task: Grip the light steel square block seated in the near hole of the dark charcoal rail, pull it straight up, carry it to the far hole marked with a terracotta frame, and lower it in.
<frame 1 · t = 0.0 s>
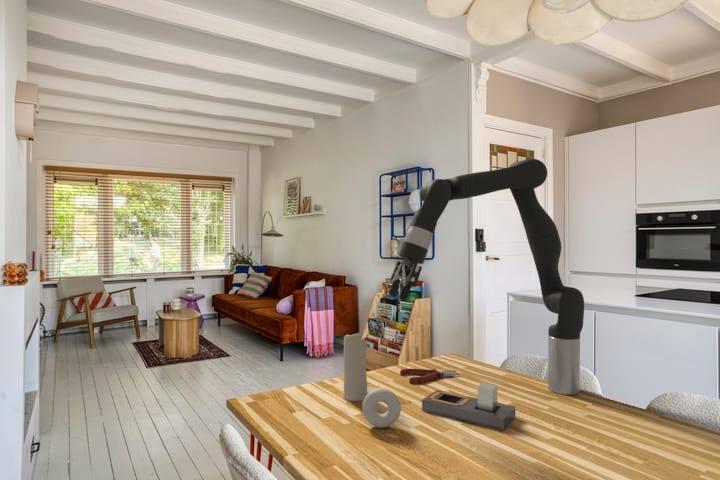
hand: (396, 297, 128), 31 cm above the table, tool tilted 20°, fingers open, 8 cm apart
steel block: (487, 418, 121), resting in rail
pliers: (430, 380, 154), on the table
tall grey curved block: (361, 394, 139), on the table
donut: (381, 428, 115), on the table
rail: (467, 413, 124), on the table
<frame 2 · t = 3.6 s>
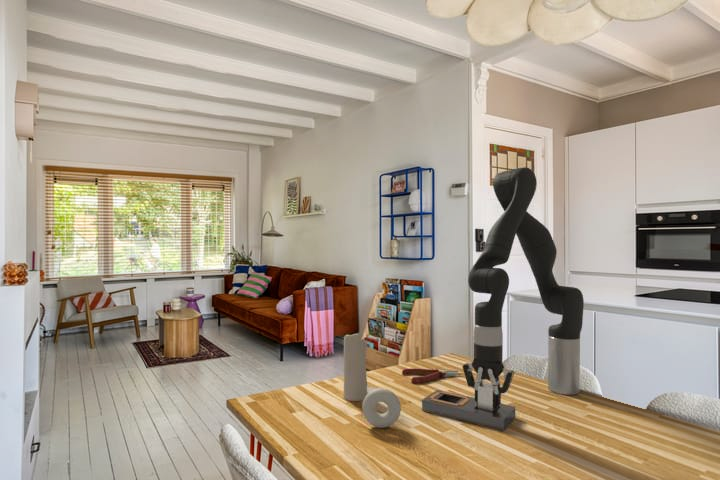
hand: (487, 404, 121), 4 cm above the table, tool pointing down, fingers closed on steel block, 4 cm apart
steel block: (487, 418, 121), resting in rail, touching gripper
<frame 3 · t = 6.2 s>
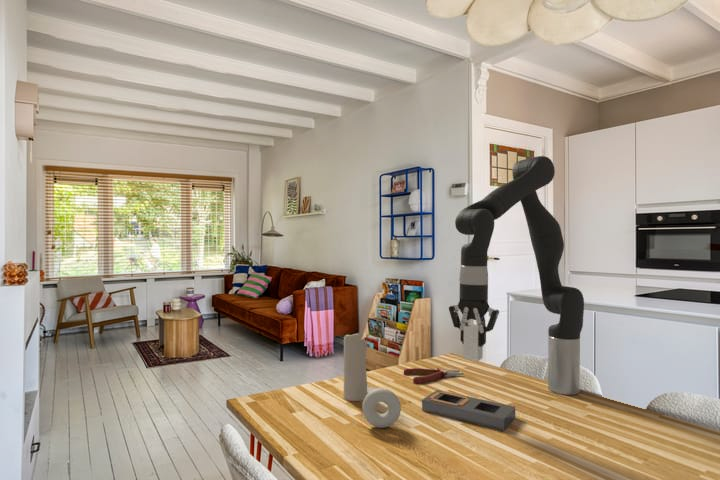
hand: (472, 344, 122), 20 cm above the table, tool pointing down, fingers closed on steel block, 4 cm apart
steel block: (472, 358, 122), point 16 cm above the table, touching gripper
when the fingers open (5 cm above the table, at t = 9.0 s): steel block drops 1 cm, resting in rail.
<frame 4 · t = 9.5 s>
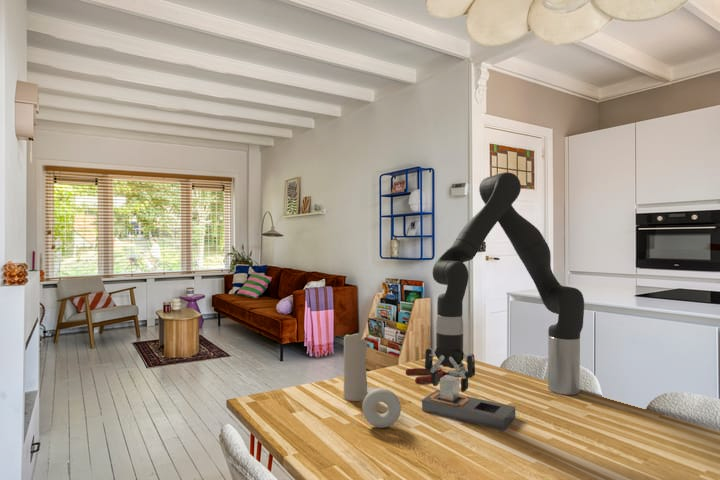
hand: (449, 388, 127), 6 cm above the table, tool pointing down, fingers open, 8 cm apart
steel block: (449, 409, 127), resting in rail
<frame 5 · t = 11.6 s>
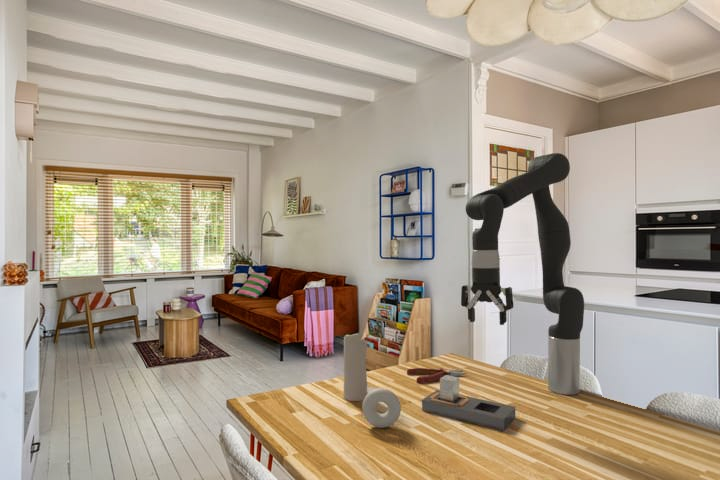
hand: (487, 323, 126), 25 cm above the table, tool pointing down, fingers open, 8 cm apart
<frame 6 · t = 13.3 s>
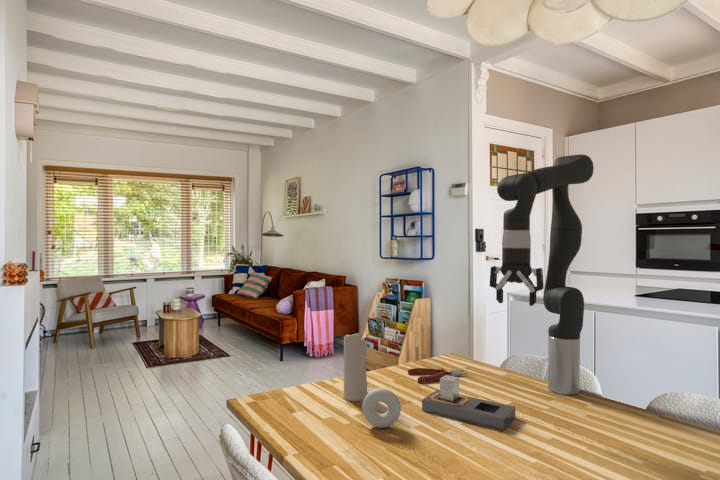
hand: (515, 304, 126), 30 cm above the table, tool pointing down, fingers open, 8 cm apart
at the end: steel block 0.0 cm from the target spot on the rail, point 0.0 cm above the rail's base; steel block tilted 0°; the gripper is holding nothing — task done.
